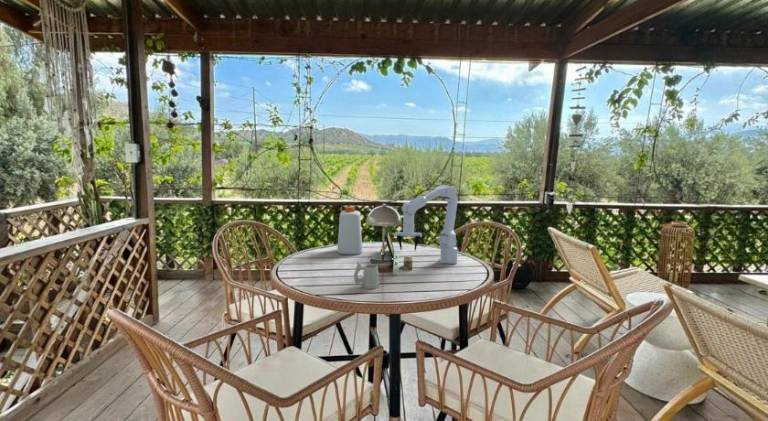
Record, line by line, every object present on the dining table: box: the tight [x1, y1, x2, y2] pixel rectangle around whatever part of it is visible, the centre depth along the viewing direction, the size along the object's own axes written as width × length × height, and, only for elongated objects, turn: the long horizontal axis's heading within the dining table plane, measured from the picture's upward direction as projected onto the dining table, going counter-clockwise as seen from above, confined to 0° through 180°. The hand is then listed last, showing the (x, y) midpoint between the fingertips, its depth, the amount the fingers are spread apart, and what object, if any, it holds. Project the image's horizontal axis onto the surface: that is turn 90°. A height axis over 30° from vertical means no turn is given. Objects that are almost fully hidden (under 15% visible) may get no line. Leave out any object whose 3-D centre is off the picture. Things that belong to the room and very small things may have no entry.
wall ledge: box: [392, 254, 400, 276], centre depth 205 cm, size 2×26×5 cm, turn 177°
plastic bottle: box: [337, 206, 363, 256], centre depth 232 cm, size 15×15×28 cm
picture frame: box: [379, 227, 395, 259], centre depth 227 cm, size 23×9×15 cm, turn 179°
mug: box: [353, 261, 380, 290], centre depth 175 cm, size 8×12×12 cm, turn 99°
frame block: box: [403, 256, 413, 271], centre depth 205 cm, size 5×8×5 cm, turn 177°
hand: (408, 249), depth 204 cm, fingers open, 7 cm apart
